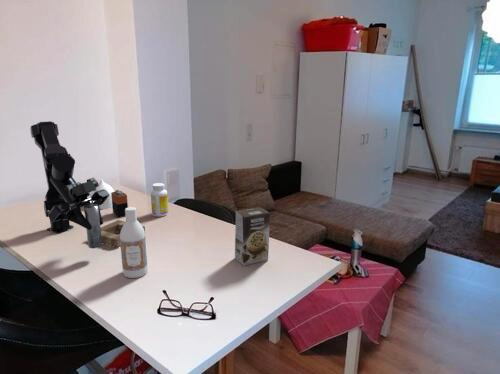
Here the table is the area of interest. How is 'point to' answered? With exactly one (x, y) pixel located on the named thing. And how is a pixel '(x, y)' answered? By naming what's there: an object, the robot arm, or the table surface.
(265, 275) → the table surface
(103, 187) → the teardrop
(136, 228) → the bath foam
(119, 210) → the battery
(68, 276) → the table surface
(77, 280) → the table surface
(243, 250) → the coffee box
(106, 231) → the holder block
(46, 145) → the robot arm
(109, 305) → the table surface
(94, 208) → the grey metal cylinder
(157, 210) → the supplement bottle
